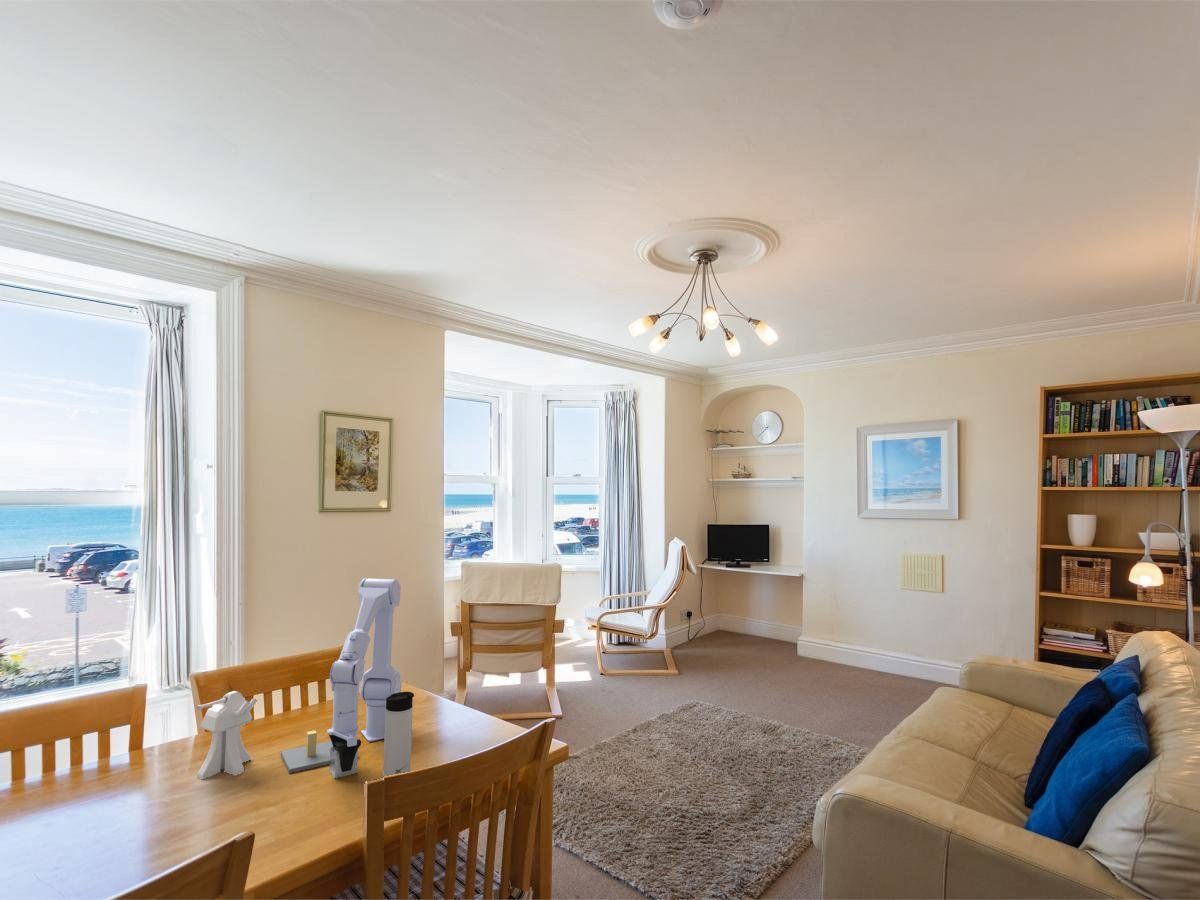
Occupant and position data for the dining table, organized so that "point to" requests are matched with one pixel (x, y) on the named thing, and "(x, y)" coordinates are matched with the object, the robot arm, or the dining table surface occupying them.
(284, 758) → the board
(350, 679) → the robot arm
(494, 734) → the dining table surface
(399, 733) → the travel mug
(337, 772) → the block
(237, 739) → the white mech figurine
